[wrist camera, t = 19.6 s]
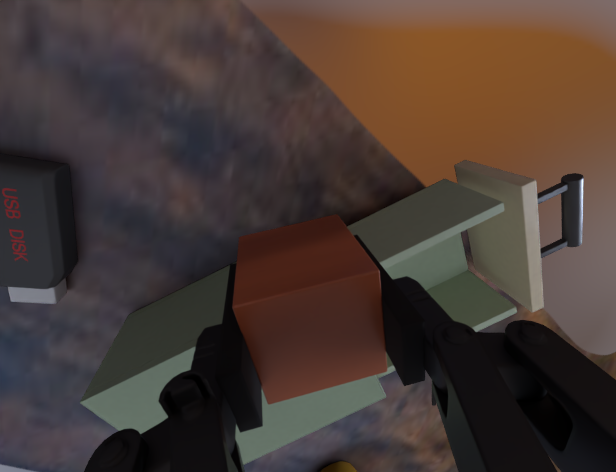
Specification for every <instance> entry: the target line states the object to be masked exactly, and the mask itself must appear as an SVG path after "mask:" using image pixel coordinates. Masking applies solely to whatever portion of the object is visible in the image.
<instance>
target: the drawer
mask: <svg viewBox="0 0 616 472" xmlns="http://www.w3.org/2000/svg"><path fill="white" fill-rule="evenodd" d="M454 167H455V171H456V177H457V181H458V184H457V183H454V182H451V181H449V180H447V179H443V180H441V181H439V182H437V183H435V184H433V185H431V186H429V187H427V188H425V189H423V190H421V191H419V192H417V193H415V194H412V195H410V196H408V197H406V198H404V199H402V200H400V201H398V202H396V203H394V204H392V205H390V206H388V207H386V208H384V209H382V210H380V211H378V212H376V213H374V214H372V215H370V216H368V217H366V218H364V219H362V220H360V221H357V222H355V223H353V224H351V225H349V226H347V228H348V229H349V230H350V232H351V233H352V234H353V235H358V236H359V237H360V239H361V240H362V241H363V242H364V244H365V245H366V246H367V248H368V249H369V250H370V251H371V253H372V254H373V255H374V256H375V258H376V259H377V260H378V262H379V263H380V264H381V265H382V267H383V268H384V269H385V270H386V272H387V273H388V274H389V276H390V277H391V278H392V279H397V278H401V277H405V276H408V277H410V278H412V279H414V280H416V281H418V282H419V283H420V284H421V286H422V287H423V288H424V289H425V291H427V292H428V293H429V294H430V295H431V297H432V298H433V299H434V300H435V301H436V302H437V303H438V304H439V305H440V306H441V307H442V308H443V310H444V311H445V312H446V313H447V314H448V315H449V316H450V317H451V318H452V319H453V320H454V321H457V322H460V323H464V324H466V325H468V326H469V327H471V328H473V329H474V331H475V332H477V331H479V330H481V329H483V328H485V327H487V326H490V325H492V324H494V323H496V322H498V321H500V320H502V319H504V318H506V317H508V316H511V315H513V314H515V313H517V310H516V306H514V305H513V304H512V303H511V302H509V301H508V300H507V299H505V298H504V297H503V296H502V295H500V294H499V293H498V292H496V291H495V290H494V289H493V288H491V287H490V286H489V285H487V284H486V283H485V282H483V281H482V280H481V279H480V278H478V277H477V276H476V275H474V274H473V273H472V272H471V271H469V270H468V266H467V261H466V256H465V252H464V247H463V242H462V237H461V233H460V232H462V231H464V230H466V229H467V233H468V238H469V243H470V248H471V253H472V258H473V263H474V268H475V270H476V271H478V272H479V273H480V274H482V275H483V276H484V277H486V278H487V279H488V280H490V281H491V282H492V283H494V284H495V285H496V286H498V287H499V288H500V289H502V290H503V291H504V292H506V293H507V294H508V295H510V296H511V297H512V298H514V299H515V300H516V301H518V302H519V303H520V304H522V305H523V306H524V307H526V308H527V309H528V310H530V311H531V312H535V311H537V310H539V309H541V308H543V307H544V304H543V287H542V270H541V258H543V257H545V256H547V255H549V254H551V253H553V252H555V251H558V250H560V249H562V248H564V247H566V246H568V247H577V246H579V245H581V244H582V220H583V178H584V177H583V175H581V174H576V173H574V174H567V175H565V176H563V177H562V178H561V183H559V184H557V185H555V186H553V187H551V188H549V189H546V190H544V191H542V192H540V193H538V194H537V186H536V180H535V179H532V178H528V177H525V176H521V175H517V174H514V173H510V172H507V171H503V170H500V169H496V168H492V167H489V166H485V165H481V164H478V163H475V162H471V161H467V160H464V161H462V162H460V163H458V164H456V165H455V166H454ZM560 193H561V201H562V202H561V205H562V239H560V240H558V241H556V242H554V243H552V244H550V245H547V246H545V247H543V248H541V249H540V236H539V220H538V204H540V203H542V202H543V201H546V200H548V199H550V198H552V197H554V196H556V195H558V194H560ZM386 356H387V370H388V371H387V372H384V373H381V374H377V375H376V377H377V379H378V378H380V377H382V376H384V375H387V374H389V373H391V372H393V371H395V370H396V369H395V367H394V366H393V364H392V362H391V360H390V358H389V356H388V354H387V352H386Z"/></svg>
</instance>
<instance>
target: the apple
mask: <svg viewBox="0 0 616 472" xmlns="http://www.w3.org/2000/svg"><path fill="white" fill-rule="evenodd" d="M320 472H357V471H356V469H355V468H354V467H353V466H352V465H351V464H350V463H347V462H343V461H339V462H336V463H333V464H330V465H328V466H327V467H325V468H324V469H322V470H321V471H320Z"/></svg>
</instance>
